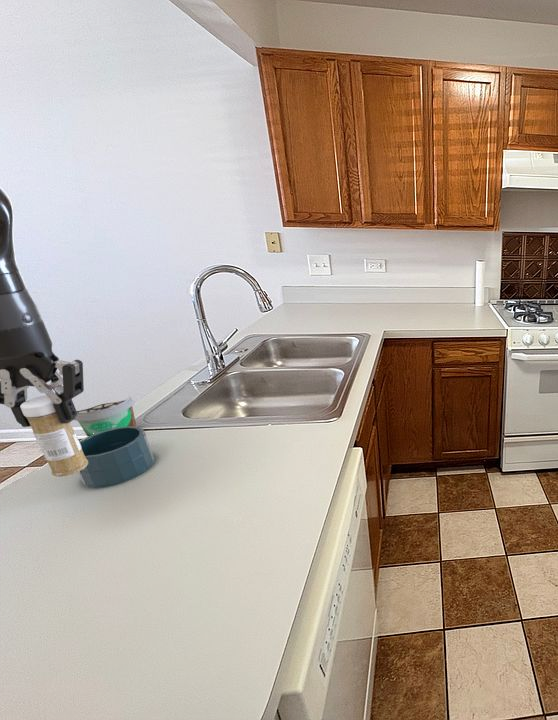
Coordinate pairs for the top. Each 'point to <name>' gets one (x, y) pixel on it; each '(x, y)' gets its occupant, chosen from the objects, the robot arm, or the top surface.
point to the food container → (107, 416)
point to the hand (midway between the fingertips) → (49, 422)
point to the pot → (115, 456)
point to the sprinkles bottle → (54, 437)
